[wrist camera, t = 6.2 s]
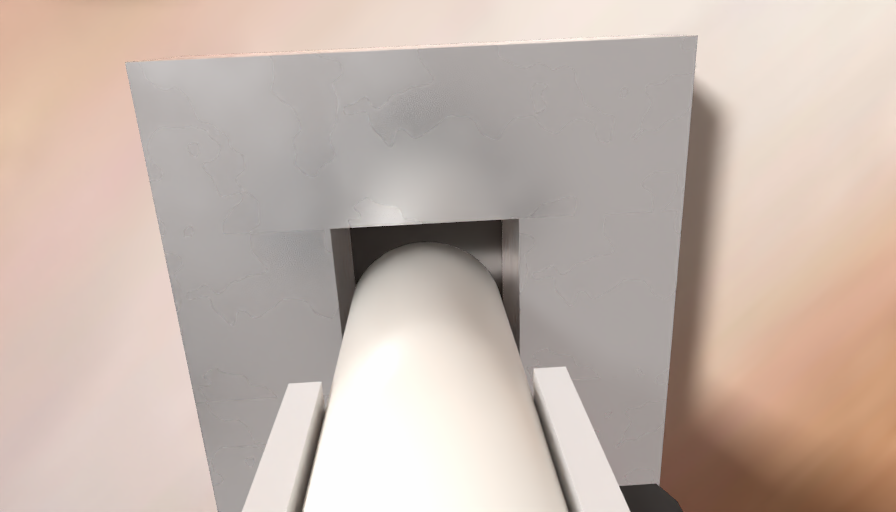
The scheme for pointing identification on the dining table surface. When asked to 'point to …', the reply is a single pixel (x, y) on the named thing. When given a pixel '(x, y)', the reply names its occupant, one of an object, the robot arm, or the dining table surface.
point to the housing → (421, 213)
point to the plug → (430, 397)
